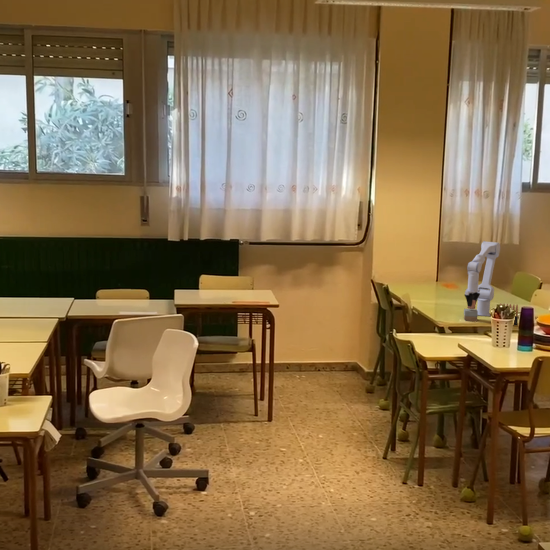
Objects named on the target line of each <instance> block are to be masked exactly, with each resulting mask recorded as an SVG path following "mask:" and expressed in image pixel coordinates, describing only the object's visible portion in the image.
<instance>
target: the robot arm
mask: <svg viewBox="0 0 550 550" xmlns="http://www.w3.org/2000/svg"><path fill="white" fill-rule="evenodd" d="M480 248H481V250H480V252H479V254H476V255H475V257H474V258H472V261H469V262H468V263H467V269H466V270H467V275H468V276H467V278H468V279H467V288H466V289H465V291H464V297H465V300H466V304H467V307H468V306H470V307H471V306H472V302H473V300H475V301H476V305H477V306H476V309H477V311H478V316H481V317H491V314H490V308H491V301H492V300H493V299H494V296H495V288H494V287H493V286H492V283H491V282H492V278H493V273H494V269H495V263H496V259H497V258H499V256H500V253H501V243H500V242H499V241H497V242H495V241H485V240H483V241H482V242H481V245H480ZM485 261H486V262H485ZM484 263H485V266H484V272H483V276H482V281H481V283H480V284H479V278H480V275H479V274H480V272H481V271H482V267H483V266H482V265H483V264H484Z"/></svg>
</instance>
